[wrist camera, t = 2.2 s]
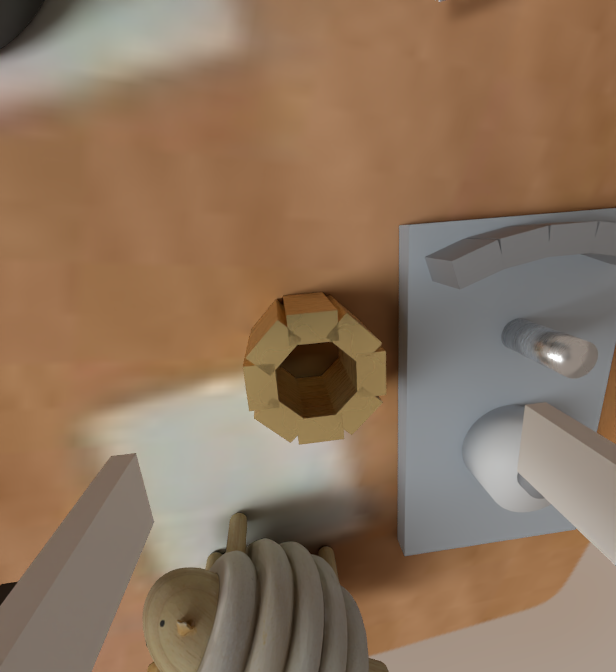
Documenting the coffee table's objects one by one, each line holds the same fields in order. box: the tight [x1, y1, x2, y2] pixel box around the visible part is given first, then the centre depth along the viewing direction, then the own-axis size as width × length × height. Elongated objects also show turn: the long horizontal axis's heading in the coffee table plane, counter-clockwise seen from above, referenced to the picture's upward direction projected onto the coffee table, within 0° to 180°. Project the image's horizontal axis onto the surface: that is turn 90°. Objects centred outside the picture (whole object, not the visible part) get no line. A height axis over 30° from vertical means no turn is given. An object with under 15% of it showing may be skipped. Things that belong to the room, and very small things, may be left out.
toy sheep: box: [143, 513, 388, 672], centre depth 21 cm, size 11×17×11 cm, turn 63°
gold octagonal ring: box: [243, 292, 386, 445], centre depth 19 cm, size 7×7×5 cm
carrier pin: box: [501, 318, 598, 379], centre depth 19 cm, size 2×2×4 cm
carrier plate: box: [398, 208, 616, 556], centre depth 21 cm, size 24×14×5 cm, turn 4°
